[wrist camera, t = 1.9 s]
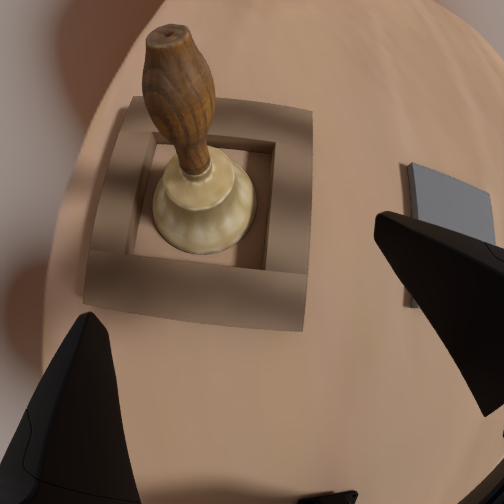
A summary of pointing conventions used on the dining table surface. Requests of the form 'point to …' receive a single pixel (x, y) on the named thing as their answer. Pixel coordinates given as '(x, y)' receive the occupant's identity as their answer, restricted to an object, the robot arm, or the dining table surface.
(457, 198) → the grey rubber mat
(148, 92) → the hand bell
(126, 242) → the walnut well board
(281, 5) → the dining table surface
